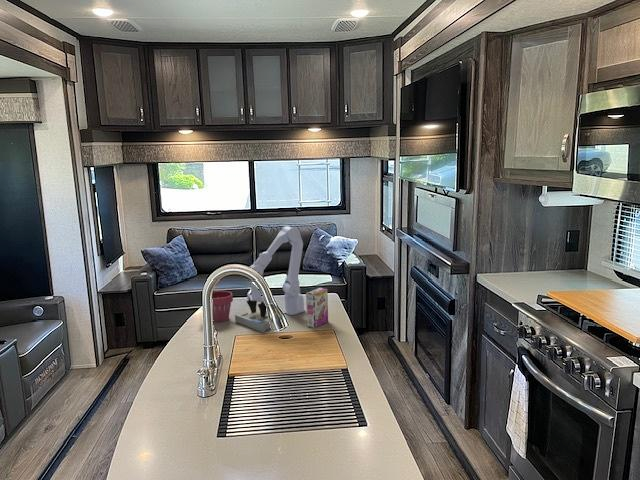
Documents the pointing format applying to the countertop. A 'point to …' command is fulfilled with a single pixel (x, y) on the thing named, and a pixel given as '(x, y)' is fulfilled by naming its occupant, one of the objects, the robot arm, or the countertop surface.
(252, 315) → the cream cylinder column
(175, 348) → the countertop surface
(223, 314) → the plant pot
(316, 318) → the candy bar box
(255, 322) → the grey comb rack
